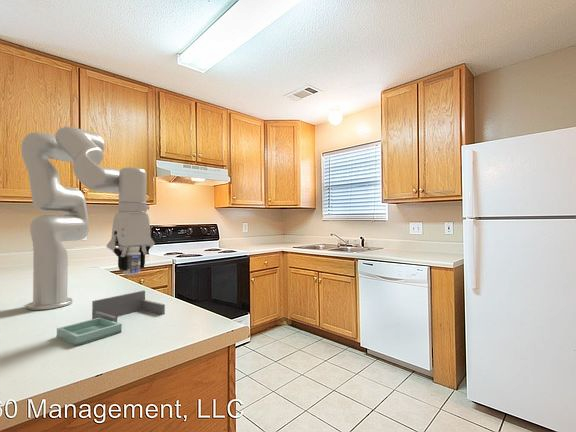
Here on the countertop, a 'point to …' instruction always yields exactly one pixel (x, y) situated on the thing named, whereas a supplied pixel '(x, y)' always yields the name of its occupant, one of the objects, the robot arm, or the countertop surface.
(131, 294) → the bay
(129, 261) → the pill bottle
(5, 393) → the countertop surface
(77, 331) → the tray
